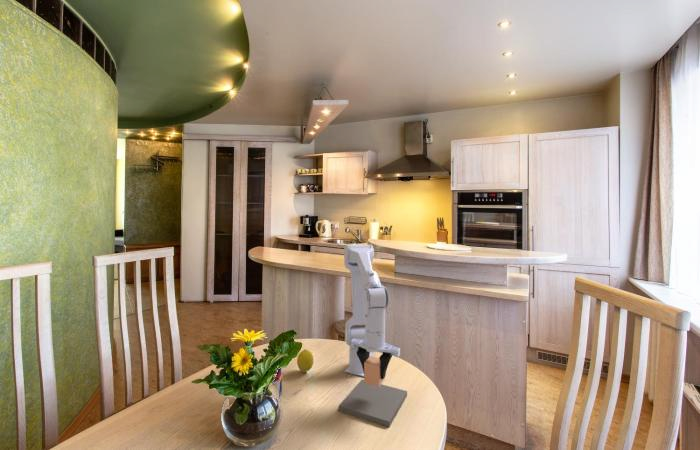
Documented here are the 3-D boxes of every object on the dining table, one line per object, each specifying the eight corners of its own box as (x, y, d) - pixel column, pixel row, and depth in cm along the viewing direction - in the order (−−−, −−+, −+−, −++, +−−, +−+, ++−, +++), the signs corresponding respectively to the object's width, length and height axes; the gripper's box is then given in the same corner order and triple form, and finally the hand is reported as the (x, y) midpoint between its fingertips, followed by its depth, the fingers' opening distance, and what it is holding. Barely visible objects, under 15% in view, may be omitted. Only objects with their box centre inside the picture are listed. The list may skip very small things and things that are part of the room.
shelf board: (361, 383, 106) (361, 379, 106) (407, 395, 100) (407, 391, 100) (338, 411, 92) (338, 405, 92) (389, 427, 86) (389, 421, 85)
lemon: (316, 371, 115) (316, 348, 114) (306, 377, 110) (306, 354, 109) (304, 366, 117) (304, 344, 117) (293, 373, 113) (293, 350, 112)
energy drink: (277, 401, 97) (277, 361, 96) (260, 398, 98) (260, 359, 97) (284, 391, 102) (284, 353, 101) (268, 389, 103) (268, 351, 102)
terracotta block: (370, 375, 99) (370, 356, 98) (384, 379, 97) (384, 359, 96) (363, 382, 95) (364, 362, 94) (378, 386, 93) (379, 365, 92)
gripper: (346, 329, 94) (346, 375, 95) (394, 338, 88) (394, 388, 89) (356, 322, 101) (356, 365, 101) (402, 330, 94) (401, 376, 95)
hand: (374, 375), depth 96 cm, fingers closed on terracotta block, 5 cm apart
